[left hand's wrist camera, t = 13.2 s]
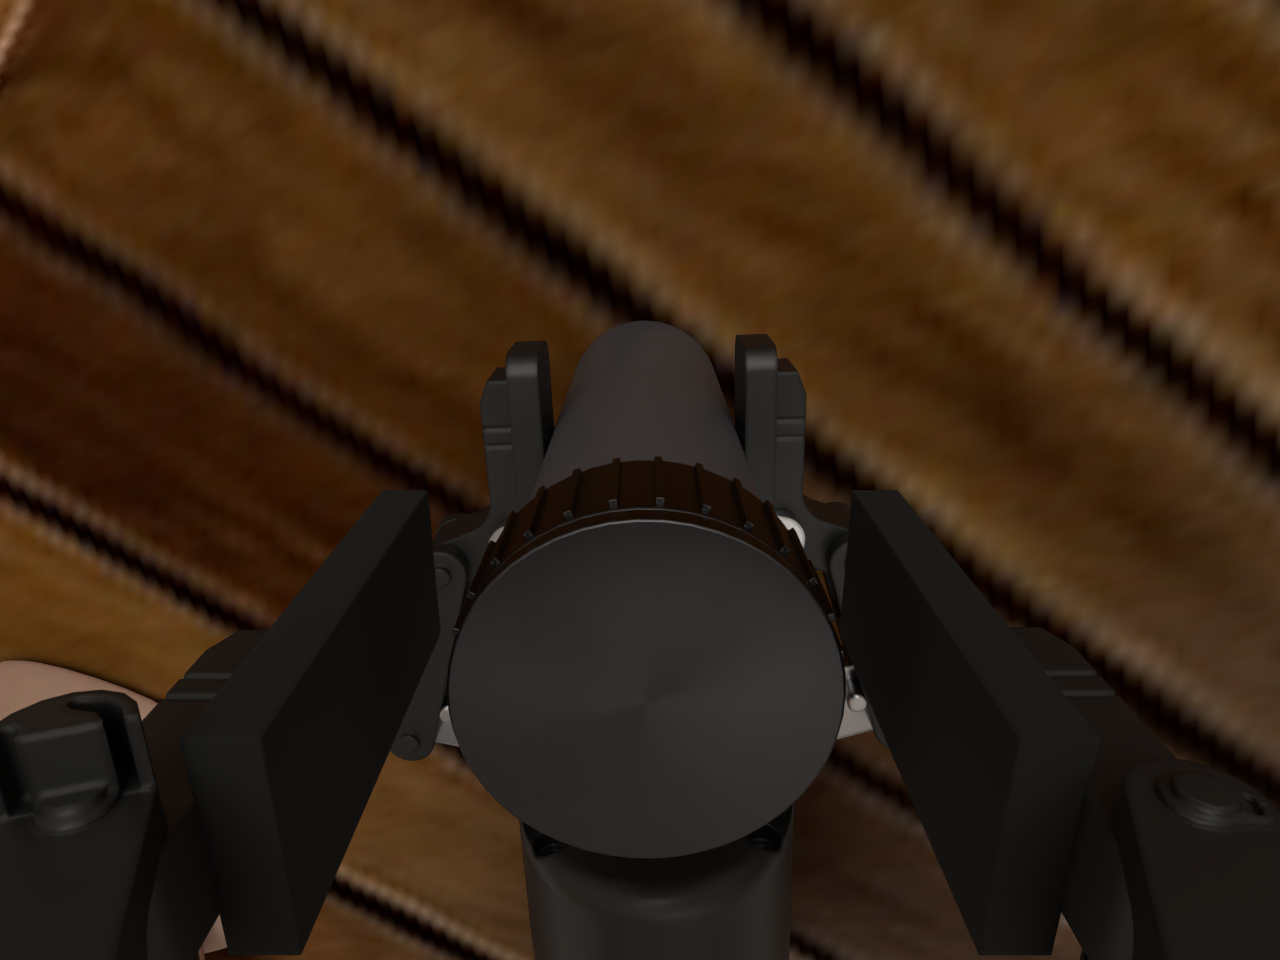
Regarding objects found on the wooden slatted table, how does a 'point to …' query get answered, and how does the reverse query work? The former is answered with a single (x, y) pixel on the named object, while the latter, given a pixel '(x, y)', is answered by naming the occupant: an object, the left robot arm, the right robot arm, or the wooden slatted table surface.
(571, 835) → the lid
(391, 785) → the wooden slatted table surface
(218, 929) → the anatomical model
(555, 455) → the dark grey cylinder
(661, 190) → the wooden slatted table surface
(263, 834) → the left robot arm
